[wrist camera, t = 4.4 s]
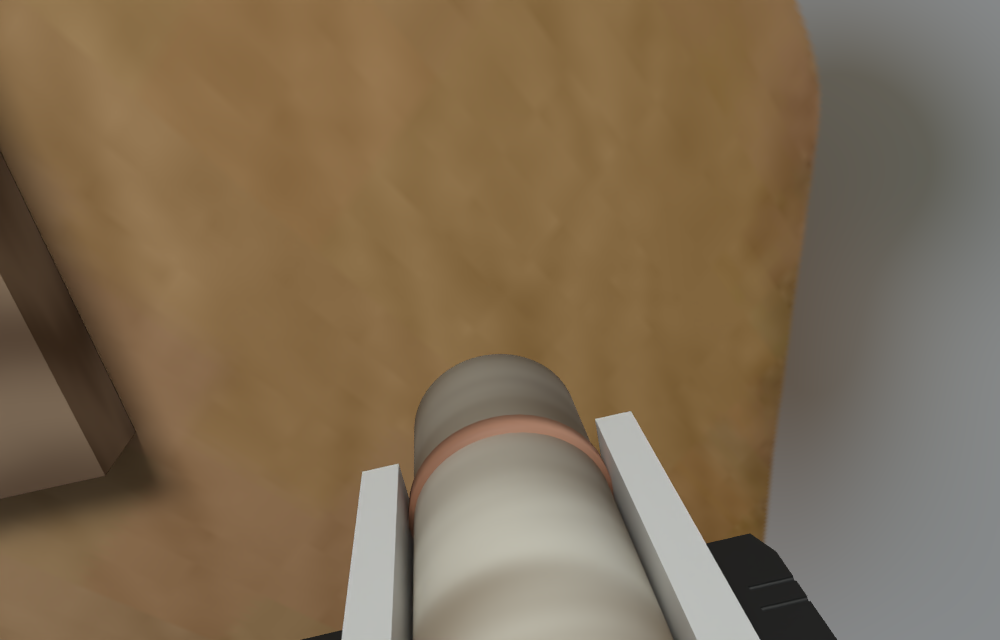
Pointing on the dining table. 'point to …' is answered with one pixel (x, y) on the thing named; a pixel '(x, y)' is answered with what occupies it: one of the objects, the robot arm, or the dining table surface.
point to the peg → (518, 516)
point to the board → (47, 369)
